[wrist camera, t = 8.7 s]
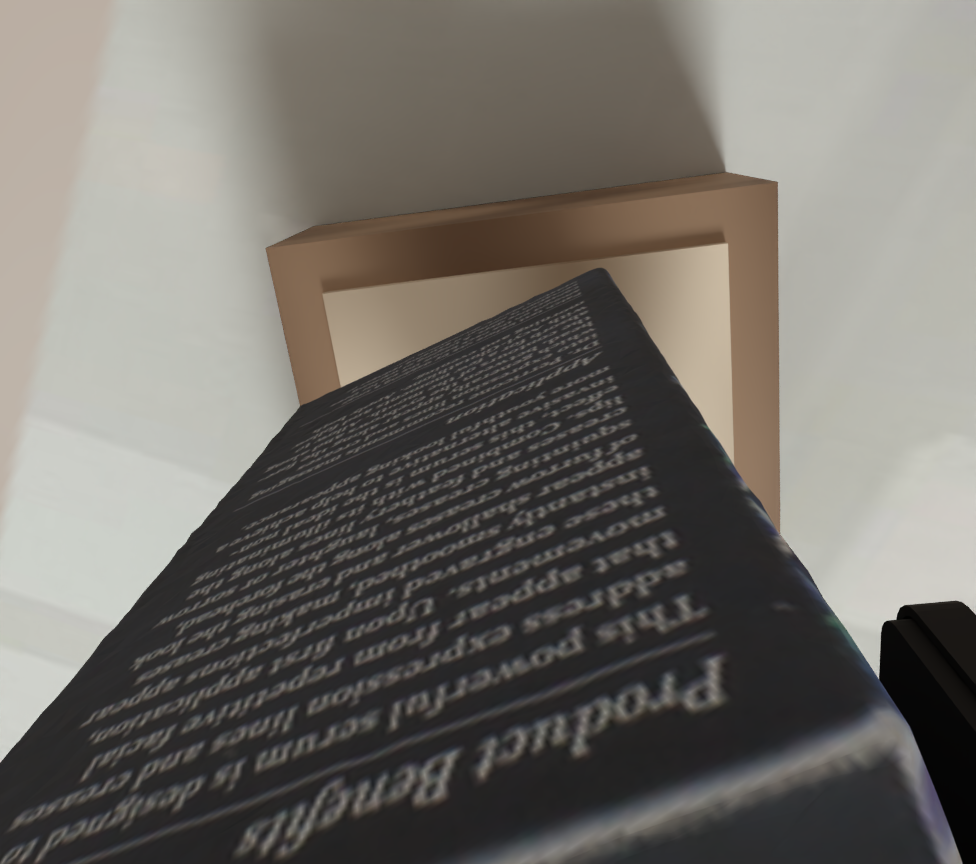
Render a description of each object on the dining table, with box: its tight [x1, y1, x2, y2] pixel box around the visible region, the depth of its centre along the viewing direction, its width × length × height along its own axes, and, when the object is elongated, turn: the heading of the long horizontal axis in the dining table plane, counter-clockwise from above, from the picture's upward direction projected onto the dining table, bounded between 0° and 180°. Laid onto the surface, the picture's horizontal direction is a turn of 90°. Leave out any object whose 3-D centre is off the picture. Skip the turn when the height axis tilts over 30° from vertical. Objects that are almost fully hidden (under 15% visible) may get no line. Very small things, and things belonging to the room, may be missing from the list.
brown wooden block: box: [266, 172, 780, 534], centre depth 19 cm, size 10×10×4 cm
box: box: [0, 268, 963, 864], centre depth 9 cm, size 8×6×11 cm
